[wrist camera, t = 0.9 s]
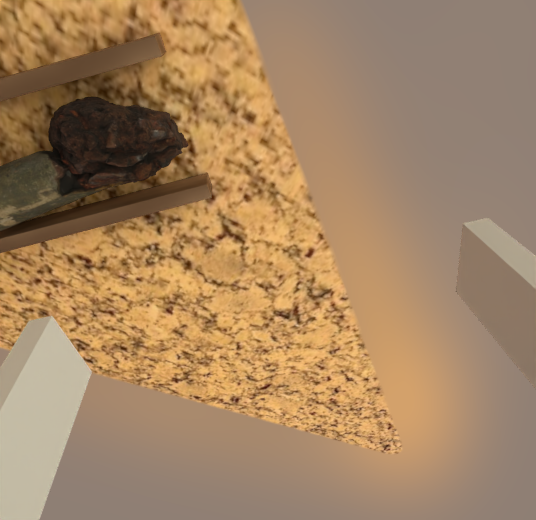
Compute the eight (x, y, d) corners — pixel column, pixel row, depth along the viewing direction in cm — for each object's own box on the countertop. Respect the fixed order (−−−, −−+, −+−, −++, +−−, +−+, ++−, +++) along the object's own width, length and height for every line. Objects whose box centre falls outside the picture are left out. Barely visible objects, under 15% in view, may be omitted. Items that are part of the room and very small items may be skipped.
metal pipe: (8, 220, 33) (-27, 255, 29) (-52, 149, 30) (-103, 175, 25) (194, 151, 32) (189, 176, 27) (155, 66, 28) (141, 78, 23)
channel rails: (-208, 136, 28) (-242, 147, 26) (159, 32, 27) (154, 35, 25) (-86, 263, 34) (-105, 280, 32) (211, 185, 33) (211, 197, 31)
